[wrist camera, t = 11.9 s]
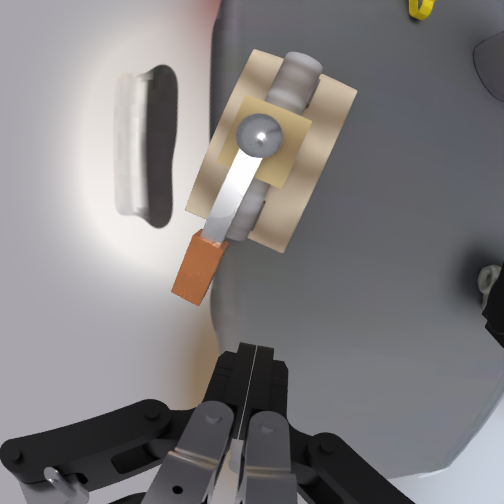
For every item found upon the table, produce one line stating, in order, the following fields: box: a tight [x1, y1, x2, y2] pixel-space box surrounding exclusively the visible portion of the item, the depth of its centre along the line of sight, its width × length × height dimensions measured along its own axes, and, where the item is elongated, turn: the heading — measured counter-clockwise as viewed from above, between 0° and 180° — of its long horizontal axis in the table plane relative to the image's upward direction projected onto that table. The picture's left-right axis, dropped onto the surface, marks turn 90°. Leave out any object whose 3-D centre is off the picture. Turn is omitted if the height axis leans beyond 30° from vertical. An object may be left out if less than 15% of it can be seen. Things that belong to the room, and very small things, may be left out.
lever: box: [171, 113, 283, 306], centre depth 19 cm, size 3×14×2 cm, turn 154°
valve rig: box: [185, 49, 357, 253], centre depth 24 cm, size 20×12×11 cm, turn 157°
